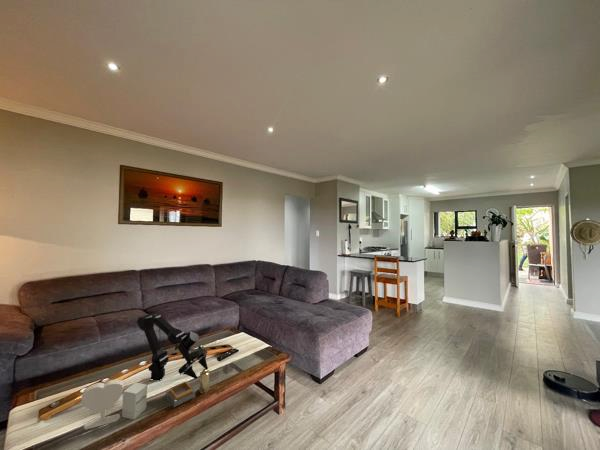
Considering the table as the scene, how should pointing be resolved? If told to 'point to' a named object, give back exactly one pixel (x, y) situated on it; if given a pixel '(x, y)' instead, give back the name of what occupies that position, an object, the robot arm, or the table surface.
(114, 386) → the heart sculpture
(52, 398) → the table surface
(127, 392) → the supplement box
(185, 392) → the grey square tray
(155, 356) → the robot arm
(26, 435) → the table surface
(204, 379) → the spout can
